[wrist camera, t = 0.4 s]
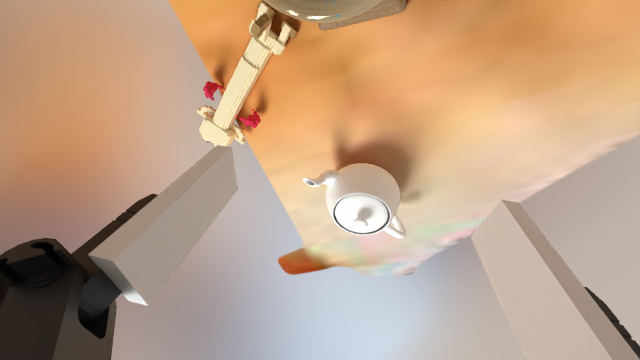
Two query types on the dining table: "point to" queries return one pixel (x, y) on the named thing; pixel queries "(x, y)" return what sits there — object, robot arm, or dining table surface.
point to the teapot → (362, 199)
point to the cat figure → (243, 81)
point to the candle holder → (337, 10)
